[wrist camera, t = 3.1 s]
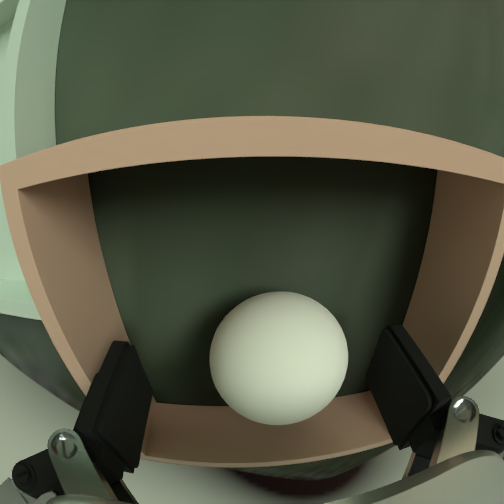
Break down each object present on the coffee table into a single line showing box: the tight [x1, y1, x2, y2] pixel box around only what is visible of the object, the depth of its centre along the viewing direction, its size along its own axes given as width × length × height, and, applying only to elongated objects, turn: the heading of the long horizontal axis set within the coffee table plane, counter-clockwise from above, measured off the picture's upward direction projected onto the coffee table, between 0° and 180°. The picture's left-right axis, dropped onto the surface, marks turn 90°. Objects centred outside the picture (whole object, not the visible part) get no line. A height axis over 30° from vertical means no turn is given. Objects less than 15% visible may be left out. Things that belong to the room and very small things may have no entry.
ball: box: [210, 291, 348, 425], centre depth 9 cm, size 5×5×5 cm
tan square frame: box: [0, 116, 504, 467], centre depth 10 cm, size 16×16×4 cm
